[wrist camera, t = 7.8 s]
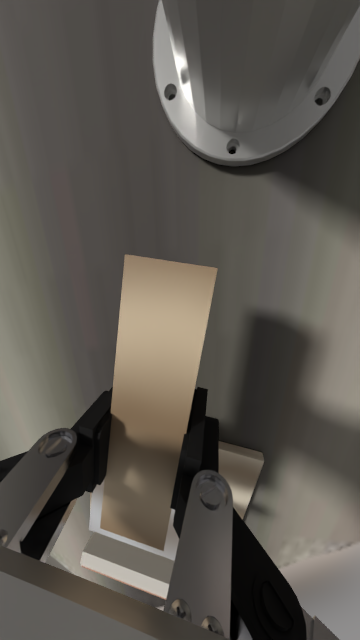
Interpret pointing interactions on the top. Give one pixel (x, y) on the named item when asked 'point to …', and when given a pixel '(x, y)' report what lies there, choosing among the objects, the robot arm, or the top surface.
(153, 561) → the tile
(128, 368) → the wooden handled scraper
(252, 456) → the board
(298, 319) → the top surface
